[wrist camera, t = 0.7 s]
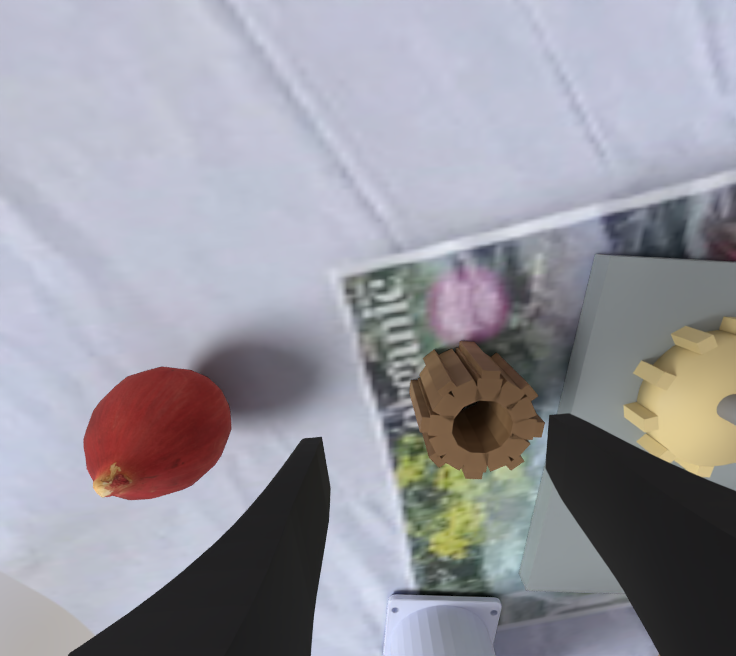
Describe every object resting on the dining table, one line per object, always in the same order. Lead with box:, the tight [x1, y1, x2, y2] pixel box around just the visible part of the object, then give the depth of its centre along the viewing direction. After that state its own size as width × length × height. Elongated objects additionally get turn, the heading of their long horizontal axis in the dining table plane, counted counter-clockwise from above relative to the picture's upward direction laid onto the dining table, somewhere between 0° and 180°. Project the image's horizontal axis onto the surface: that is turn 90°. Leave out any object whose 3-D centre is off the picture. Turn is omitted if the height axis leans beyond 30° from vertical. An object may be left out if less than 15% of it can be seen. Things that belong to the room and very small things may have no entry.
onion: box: [84, 367, 231, 500], centre depth 16 cm, size 6×6×8 cm
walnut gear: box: [410, 341, 545, 479], centre depth 18 cm, size 6×6×4 cm
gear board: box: [519, 254, 736, 594], centre depth 19 cm, size 22×14×4 cm, turn 177°
